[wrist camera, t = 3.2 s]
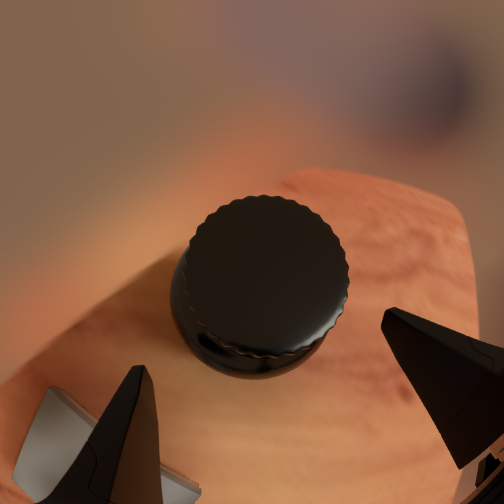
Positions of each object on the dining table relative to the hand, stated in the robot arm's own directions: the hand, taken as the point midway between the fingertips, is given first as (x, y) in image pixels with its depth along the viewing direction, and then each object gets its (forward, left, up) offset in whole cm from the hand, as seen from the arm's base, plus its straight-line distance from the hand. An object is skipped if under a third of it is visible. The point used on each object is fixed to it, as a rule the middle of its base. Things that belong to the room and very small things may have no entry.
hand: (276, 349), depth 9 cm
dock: (+4, +16, -10) cm, 19 cm away
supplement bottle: (+2, -2, -10) cm, 10 cm away
